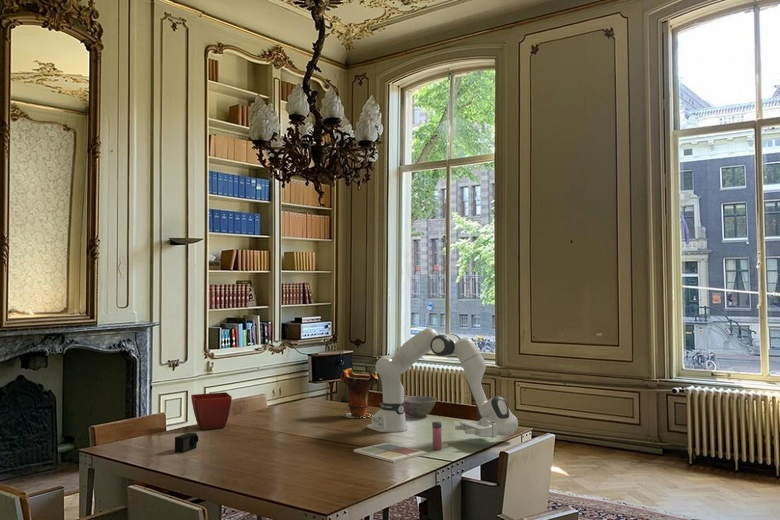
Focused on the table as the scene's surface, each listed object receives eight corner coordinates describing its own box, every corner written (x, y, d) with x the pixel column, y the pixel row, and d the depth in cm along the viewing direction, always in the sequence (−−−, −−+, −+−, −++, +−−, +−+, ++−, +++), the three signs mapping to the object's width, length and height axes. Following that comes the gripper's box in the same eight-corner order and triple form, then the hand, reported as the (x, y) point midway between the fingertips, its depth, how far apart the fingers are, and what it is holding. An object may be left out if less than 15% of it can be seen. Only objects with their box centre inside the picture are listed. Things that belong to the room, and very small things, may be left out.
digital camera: (184, 453, 285) (184, 437, 285) (174, 452, 287) (174, 436, 287) (198, 448, 295) (199, 433, 295) (188, 447, 296) (189, 432, 297)
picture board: (353, 451, 285) (353, 449, 285) (386, 444, 298) (386, 442, 299) (393, 462, 266) (393, 459, 266) (426, 454, 279) (426, 451, 280)
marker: (430, 449, 289) (430, 422, 289) (436, 447, 291) (436, 421, 292) (437, 450, 285) (437, 423, 286) (443, 449, 288) (443, 422, 289)
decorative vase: (378, 419, 362) (377, 370, 363) (338, 419, 362) (338, 371, 364) (379, 413, 382) (378, 367, 384) (341, 413, 382) (341, 367, 384)
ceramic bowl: (400, 412, 383) (399, 395, 384) (438, 413, 380) (438, 396, 381) (395, 419, 361) (395, 401, 362) (435, 420, 358) (435, 402, 359)
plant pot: (194, 432, 331) (195, 399, 332) (190, 425, 349) (190, 394, 350) (232, 428, 339) (232, 396, 340) (226, 422, 356) (226, 392, 357)
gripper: (475, 416, 309) (449, 419, 303) (498, 424, 290) (471, 426, 284) (475, 430, 308) (450, 432, 303) (498, 438, 289) (471, 441, 284)
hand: (460, 429), depth 294 cm, fingers open, 8 cm apart
